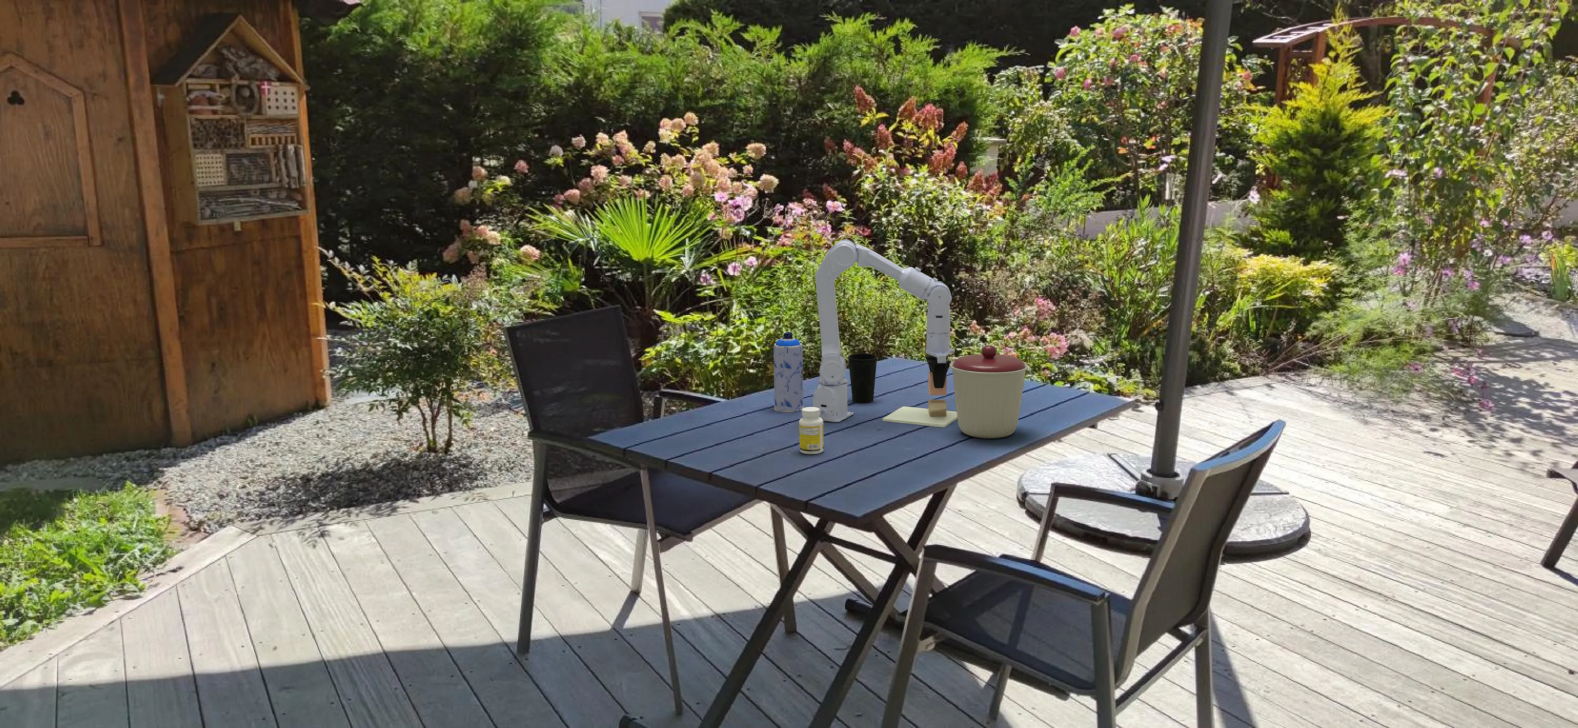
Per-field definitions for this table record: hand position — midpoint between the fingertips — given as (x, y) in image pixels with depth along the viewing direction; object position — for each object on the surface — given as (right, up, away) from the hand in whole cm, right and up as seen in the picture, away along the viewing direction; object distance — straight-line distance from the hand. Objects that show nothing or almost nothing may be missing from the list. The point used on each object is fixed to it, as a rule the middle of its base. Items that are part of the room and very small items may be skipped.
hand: (937, 386), depth 282 cm
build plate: (-4, -8, +1) cm, 9 cm away
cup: (-17, -4, +20) cm, 27 cm away
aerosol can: (-37, -6, +12) cm, 40 cm away
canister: (+10, -11, -14) cm, 21 cm away
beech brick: (0, -7, +1) cm, 7 cm away
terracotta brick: (0, -2, 0) cm, 2 cm away
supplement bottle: (-32, -14, -27) cm, 44 cm away
